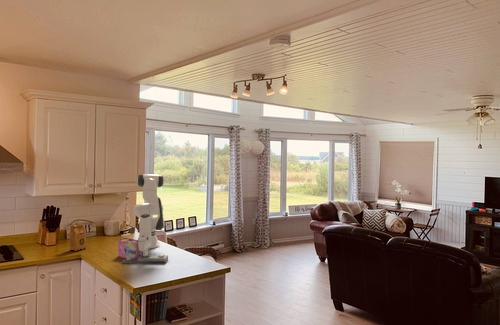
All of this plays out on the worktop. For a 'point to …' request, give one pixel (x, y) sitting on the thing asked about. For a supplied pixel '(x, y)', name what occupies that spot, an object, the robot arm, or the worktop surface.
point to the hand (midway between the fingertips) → (145, 254)
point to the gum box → (128, 248)
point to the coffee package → (77, 237)
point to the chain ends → (147, 260)
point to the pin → (146, 254)
